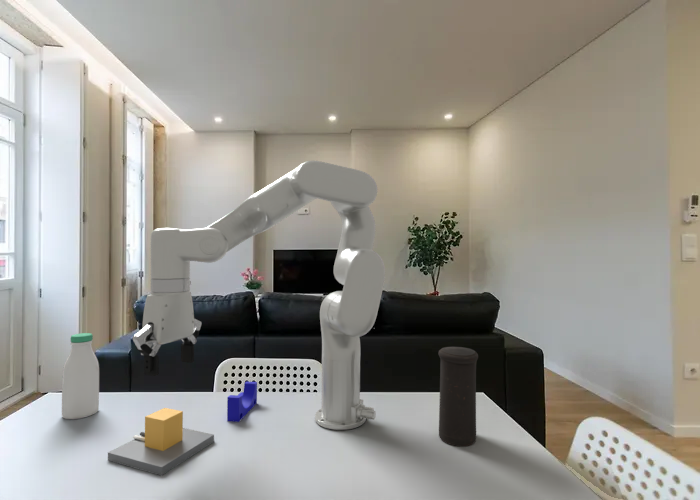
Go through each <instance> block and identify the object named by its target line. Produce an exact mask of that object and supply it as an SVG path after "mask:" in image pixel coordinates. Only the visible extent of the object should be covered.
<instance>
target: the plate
mask: <svg viewBox="0 0 700 500" xmlns="http://www.w3.org/2000/svg"><path fill="white" fill-rule="evenodd" d="M132 438H133V439H132V440H130V441H128V442H126V443H124V444H122V445H120V446H118V447H117V448H114V449H112V450H110V451H108V452H107V461H110V462H114V463H116V464H120V465H124V466H128V467H131V468H134V469H138V470H141V471H146V472H148V473H151V474H155V475H159V476H164V474H166V473H167V472H169V471H171V470H172V469H174V468H176V467H177V466H179V465H180V464H182V463H183V462H185V461H186V460H188V459H189V458H191V457H192V456H194V455H195V454H197V453H199V452H200V451H201V450H202V451H203V449H204V448H206V447H208V446H210V445H211V444H213V443H215V434H213V433H208V432H204V431H200V430H194V429H189V428H186V427H183V438H182V441H180V442H178V443H176V444H175V445H173V446H171V447H169V448H168V449H166V450H164V451H161V450H157V449H153V448H149V447H146V446H145V431H140V432H139V435H136V434H135V435H133V436H132Z"/></svg>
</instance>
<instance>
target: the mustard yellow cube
mask: <svg viewBox="0 0 700 500" xmlns="http://www.w3.org/2000/svg"><path fill="white" fill-rule="evenodd" d="M183 420H184V411H183V410H178V409H173V408H168V407H163V408H162V409H161V408H160V409H158V410H156V411H155V412H152V413H151V414H150V413H149V414H148V415H146V416H144V433H145V446H146V447H149V448H153V449H157V450H161V451H164V450H166V449H168V448H169V447H171V446H173V445H175V444H176V443H178V442H180V441H182V438H183V428H184V425H183V423H184V421H183Z"/></svg>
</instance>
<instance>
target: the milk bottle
mask: <svg viewBox="0 0 700 500" xmlns="http://www.w3.org/2000/svg"><path fill="white" fill-rule="evenodd" d="M93 336H94V335H93V333H91V332H90V333H89V332H83V333H75V334H72V335H71V336H70V345H71V349H70V352H69V355H68V356H67V358H66V360H65V362H64V365H63V369H62V379H61V381H62V384H61V416H62V418H63V419H65V420H77V419H83V418H87V417H90V416H92V415H95V414H96V413H97V412H98V411H99V409H100V408H99V407H100V405H99V404H100V363H99V360H98V358H97V356H96V354H95V353H94V350H93V347H92V343H93V338H94V337H93Z"/></svg>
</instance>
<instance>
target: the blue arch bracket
mask: <svg viewBox="0 0 700 500" xmlns="http://www.w3.org/2000/svg"><path fill="white" fill-rule="evenodd" d="M257 403H258V381H248V380H247V381H246V380H245V382H244V385H243V391H241V392H239V394H238V395H235V394H234V395H233V394H230V395H228V396H227V405H226V407H227V411H226V417H227V419H226V421H227V422H234V423H240V421H242V419H243V418H245V416H246V415H247V414H248V413H249V412H250V411H251V410H252V409H253V408H254V407H255V406H256V405H257Z"/></svg>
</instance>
